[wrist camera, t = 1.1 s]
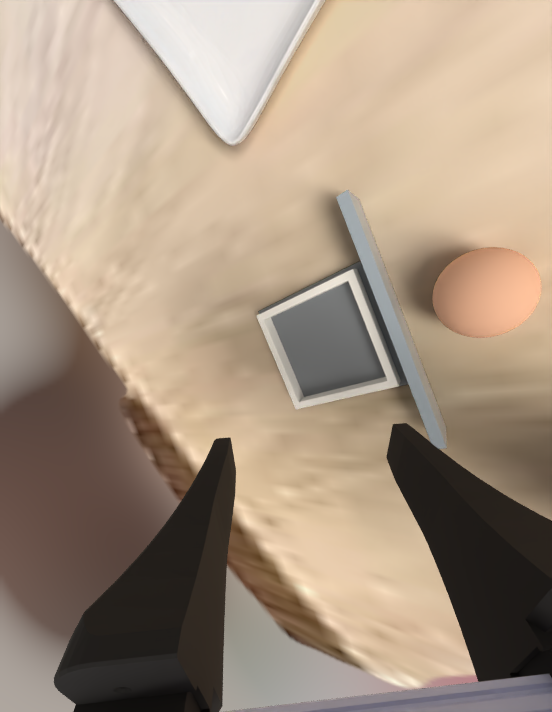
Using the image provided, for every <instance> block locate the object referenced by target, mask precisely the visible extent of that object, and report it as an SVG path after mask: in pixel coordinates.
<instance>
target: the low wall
mask: <svg viewBox="0 0 552 712" xmlns="http://www.w3.org/2000/svg"><path fill="white" fill-rule="evenodd" d="M336 198H337V201H338V203H339V206H340V209H341V211H342V214H343V216H344V219H345V222H346V224H347V227H348V229H349V232H350V234H351V237H352V240H353V242H354V245H355V247H356V250H357V253H358V255H359V258H360V260H361V263H362V265H363V268H364V271H365V273H366V276H367V278H368V281H369V284H370V286H371V289H372V291H373V294H374V296H375V299H376V302H377V304H378V307H379V309H380V312H381V314H382V317H383V320H384V322H385V325H386V327H387V330H388V333H389V335H390V338H391V340H392V343H393V345H394V348H395V351H396V353H397V356H398V358H399V361H400V364H401V366H402V369H403V371H404V374H405V376H406V379H407V382H408V384H409V387H410V389H411V392H412V395H413V397H414V400H415V402H416V405H417V407H418V410H419V413H420V415H421V418H422V420H423V423H424V425H425V428H426V431H427V433H428V436H429V438H430V441H431V443H432V444H433V445H434V446H436V447H437V448H438V449H443V448H447V440H446V425H445V423H444V420H443V417H442V415H441V412H440V409H439V407H438V404H437V402H436V399H435V396H434V394H433V391H432V389H431V386H430V383H429V381H428V378H427V375H426V373H425V370H424V368H423V365H422V362H421V360H420V357H419V354H418V352H417V349H416V347H415V344H414V341H413V339H412V336H411V333H410V331H409V328H408V326H407V323H406V320H405V318H404V315H403V312H402V310H401V307H400V305H399V302H398V299H397V297H396V294H395V291H394V289H393V286H392V284H391V281H390V278H389V276H388V273H387V270H386V268H385V265H384V263H383V260H382V257H381V255H380V252H379V250H378V247H377V244H376V242H375V239H374V236H373V234H372V231H371V229H370V226H369V223H368V221H367V218H366V215H365V213H364V210H363V208H362V205H361V202H360V200H359V198H358V197H356V196H355V195H354V194H353V193H351V192H350V191H349V190H346V191H345V192H343V193H342V194H340V195H339V196H337V197H336Z"/></svg>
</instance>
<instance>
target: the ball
mask: <svg viewBox="0 0 552 712" xmlns="http://www.w3.org/2000/svg"><path fill="white" fill-rule="evenodd" d="M540 295H541V279H540V275H539V273H538V271H537V269H536V267H535V266H534V264H533V263H532V262H531V261H530V260H529V259H528V258H526V257H525V256H524V255H522V254H520V253H518V252H516V251H513V250H510V249H505V248H497V247H491V248H481V249H477V250H473V251H471V252H468V253H466V254H464V255H462V256H460V257H458V258H457V259H455V260H454V261H452V262H451V263H450V264H449V265H448V266H447V267H446V268H445V269H444V270H443V271H442V272H441V274H440V275H439V277H438V279H437V281H436V283H435V286H434V289H433V296H432V301H433V307H434V310H435V312H436V315H437V316H438V318H439V319H440V321H441V322H442V323H443V324H444V325H445V326H446V327H447V328H449V329H450V330H452V331H454V332H456V333H458V334H461V335H464V336H469V337H477V338H481V337H492V336H497V335H500V334H503V333H506V332H508V331H510V330H512V329H514V328H516V327H517V326H519V325H520V324H521V323H523V322H524V321H525V320H526V319H527V318H528V317H529V316H530V315H531V314H532V312H533V311H534V309H535V308H536V306H537V304H538V302H539V299H540Z"/></svg>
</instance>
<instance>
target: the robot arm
mask: <svg viewBox="0 0 552 712" xmlns="http://www.w3.org/2000/svg"><path fill="white" fill-rule="evenodd" d="M387 460H388V463H389V465H390V468H391V471H392V473H393V476H394V478H395V481H396V483H397V484H398V486H399V488H400V490H401V492H402V494H403V496H404V498H405V500H406V502H407V504H408V506H409V507H410V509H411V511H412V513H413V515H414V517H415V519H416V521H417V523H418V525H419V526H420V528H421V530H422V532H423V534H424V537H425V539H426V541H427V543H428V545H429V548H430V550H431V553H432V555H433V557H434V560H435V562H436V564H437V567H438V569H439V572H440V575H441V577H442V580H443V582H444V585H445V587H446V590H447V592H448V595H449V598H450V600H451V603H452V606H453V609H454V611H455V614H456V617H457V619H458V622H459V625H460V628H461V631H462V634H463V637H464V639H465V642H466V645H467V648H468V651H469V654H470V657H471V660H472V663H473V666H474V669H475V673H476V676H477V679H478V682H474V683H465V684H456V685H448V686H439V687H430V688H422V689H413V690H405V691H397V692H388V693H379V694H371V695H362V696H354V697H345V698H336V699H328V700H319V701H311V702H302V703H295V704H285V705H277V706H268V707H259V708H252V709H243V710H234V711H226V712H552V521H551V520H549V519H547V518H545V517H543V516H541V515H539V514H538V513H536V512H534V511H532V510H530V509H529V508H527V507H525V506H523V505H521V504H519V503H518V502H516V501H514V500H513V499H511V498H509V497H507V496H506V495H504V494H503V493H501V492H499V491H498V490H496V489H495V488H493V487H491V486H490V485H488V484H487V483H485V482H484V481H482V480H481V479H479V478H478V477H476V476H475V475H473V474H472V473H470V472H469V471H468V470H466V469H465V468H463V467H462V466H461V465H459V464H458V463H456V462H455V461H454V460H452V459H451V458H450V457H448V456H447V455H446V454H445V453H443V452H442V451H441V450H439V449H438V448H437V447H436V446H434V445H433V444H432V443H431V442H429V441H428V440H427V439H426V438H424V437H423V436H422V435H421V434H419V433H418V432H417V431H416V430H415V429H413V428H412V427H411V426H409V425H408V424H407V423H403V424H393V427H392V432H391V437H390V442H389V447H388V452H387ZM235 483H236V468H235V462H234V456H233V450H232V444H231V438H219V439H216V440H215V441H214V443H213V445H212V447H211V450H210V452H209V454H208V456H207V458H206V460H205V462H204V464H203V466H202V468H201V469H200V471H199V473H198V475H197V477H196V478H195V480H194V482H193V483H192V485H191V487H190V488H189V490H188V492H187V493H186V495H185V496H184V498H183V499H182V501H181V503H180V504H179V505H178V507H177V509H176V510H175V511H174V513H173V514H172V515H171V517H170V518H169V520H168V521H167V522H166V524H165V525H164V526H163V528H162V529H161V530H160V531H159V533H158V534H157V535H156V536H155V538H154V539H153V540H152V541H151V543H150V544H149V545H148V546H147V547H146V549H145V550H144V551H143V552H142V553H141V554H140V555H139V557H138V558H137V559H136V560H135V561H134V562H133V563H132V564H131V565H130V566H129V568H128V569H127V570H126V571H125V572H124V573H123V574H122V575H121V576H120V577H119V578H118V579H117V581H115V583H114V584H113V585H111V586H110V587H109V588H108V590H106V591H105V592H104V593H103V594H102V595H101V596H100V597H99V598H98V599H97V600H96V601H95V602H94V603H93V604H92V605H91V606H90V607H89V608H88V609H87V610H86V611H85V612H84V614H83V615H82V618H81V619H80V621H79V623H78V625H77V627H76V629H75V631H74V633H73V635H72V637H71V639H70V641H69V644H68V646H67V648H66V651H65V653H64V656H63V658H62V660H61V662H60V665H59V667H58V670H57V672H56V674H55V677H54V684H55V687H56V688H57V689H58V691H60V692H61V693H62V694H63V695H65V696H66V697H67V698H69V699H70V700H71V701H73V702H74V703H75V704H76V706H75V709H74V712H219V711H220V709H221V707H222V691H223V688H222V687H223V646H224V615H225V589H226V568H227V554H228V545H229V537H230V530H231V522H232V515H233V507H234V499H235Z"/></svg>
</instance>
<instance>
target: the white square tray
mask: <svg viewBox="0 0 552 712" xmlns="http://www.w3.org/2000/svg"><path fill="white" fill-rule="evenodd" d="M258 312H259V315H257V319H258V321H259V324H260V326H261V328H262V331H263V333H264V335H265V338H266V340H267V343H268V345H269V347H270V350H271V352H272V354H273V357H274V359H275V361H276V364H277V366H278V369H279V371H280V373H281V376H282V378H283V380H284V383H285V385H286V387H287V390H288V392H289V395H290V397H291V399H292V402H293V404H294V406H295V409H300V408H305V407H309V406H314V405H318V404H323V403H327V402H332V401H336V400H340V399H345V398H349V397H354V396H358V395H363V394H367V393H372V392H376V391H381V390H385V389H389V388H394V387H398V386H403V385H407V384H408V382H407V379H406V376H405V374H404V371H403V369H402V366H401V364H400V361H399V358H398V356H397V353H396V351H395V348H394V345H393V343H392V340H391V338H390V335H389V333H388V330H387V327H386V325H385V322H384V320H383V317H382V314H381V312H380V309H379V307H378V304H377V302H376V299H375V296H374V294H373V291H372V289H371V286H370V284H369V281H368V278H367V276H366V273H365V271H364V268H363V265H362V263H361V261H359V262H357V263H355V264H353V265H351V266H349V267H347V268H345V269H343V270H341V271H339V272H337V273H335V274H333V275H331V276H329V277H327V278H325V279H323V280H321V281H319V282H317V283H315V284H313V285H311V286H309V287H307V288H305V289H303V290H301V291H299V292H297V293H295V294H292V295H290V296H288V297H286V298H284V299H282V300H280V301H278V302H276V303H274V304H272V305H270V306H268V307H266V308H264V309H262V310H260V311H258Z"/></svg>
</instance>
